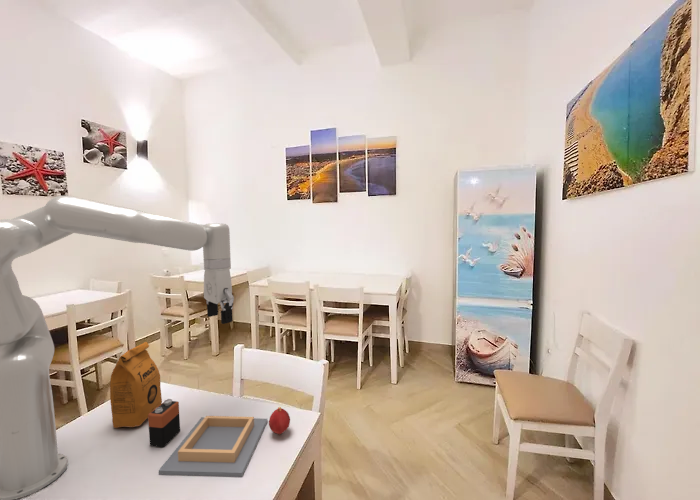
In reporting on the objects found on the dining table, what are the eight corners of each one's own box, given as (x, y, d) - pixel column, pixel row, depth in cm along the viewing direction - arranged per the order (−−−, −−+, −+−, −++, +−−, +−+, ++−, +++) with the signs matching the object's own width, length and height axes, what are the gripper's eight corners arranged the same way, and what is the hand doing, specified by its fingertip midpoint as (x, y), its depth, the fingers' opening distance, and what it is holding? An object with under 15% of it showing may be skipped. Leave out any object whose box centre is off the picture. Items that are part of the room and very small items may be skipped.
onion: (267, 430, 89) (266, 404, 88) (286, 424, 91) (286, 398, 91) (272, 443, 84) (271, 415, 83) (292, 436, 86) (292, 409, 85)
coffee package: (168, 405, 101) (164, 340, 99) (139, 431, 88) (134, 357, 86) (139, 404, 101) (134, 339, 99) (106, 429, 89) (100, 356, 87)
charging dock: (158, 474, 73) (157, 460, 73) (201, 420, 93) (201, 409, 93) (242, 476, 73) (241, 462, 72) (267, 421, 93) (267, 410, 92)
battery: (181, 431, 89) (179, 397, 88) (163, 448, 82) (161, 412, 81) (167, 429, 89) (165, 396, 88) (148, 446, 82) (146, 411, 82)
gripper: (193, 262, 97) (196, 316, 99) (217, 268, 85) (220, 328, 87) (217, 260, 103) (219, 311, 104) (243, 265, 91) (244, 322, 93)
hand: (219, 319), depth 96 cm, fingers open, 9 cm apart
